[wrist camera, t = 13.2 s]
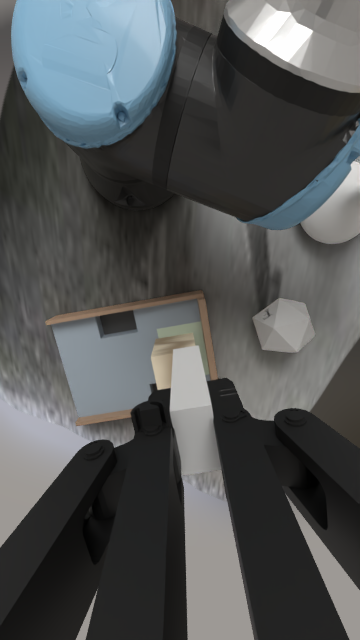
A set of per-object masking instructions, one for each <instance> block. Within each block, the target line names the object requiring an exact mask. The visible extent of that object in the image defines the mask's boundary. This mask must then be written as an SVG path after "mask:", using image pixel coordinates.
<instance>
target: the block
mask: <svg viewBox="0 0 360 640" xmlns="http://www.w3.org/2000/svg"><path fill="white" fill-rule="evenodd" d="M191 346H196V345H195V340H194V334H193V333H188V334H182V335H176V336H170V337H164V338H158V339H155V343H154V347H153V351H152V354H151V361H152V366H153V370H154V375H155V380H156V384H157V389H158V390H161V389H167V388H171V379H172V361H173V349H179V348H185V347H191Z"/></svg>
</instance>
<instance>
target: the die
mask: <svg viewBox="0 0 360 640" xmlns="http://www.w3.org/2000/svg"><path fill="white" fill-rule="evenodd" d="M253 322H254V325H255V328H256V331H257V335H258V338H259V341H260V344H261V348H262V350H269V351H278V352H286V353H298V352H299V351H300V350H301V349H302V348H303V347H304V346H305V345H306V344H307V343H308V342H309V341H310V340H311V339H312V338H313V337H314V336H316V335H315V332H314V329H313V326H312V323H311V320H310V317H309V314H308V311H307V308H306V305H305V303H302V302H297V301H293V300H288V299H284V298H278V299H277V300H276V301H274V302H273V303H272V304H270V305H269V306H267V307H266V308H265V309H263V310H262V311H261V312H259V313H258V314H257V315H255V316H254V317H253Z"/></svg>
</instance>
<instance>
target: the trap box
mask: <svg viewBox="0 0 360 640" xmlns="http://www.w3.org/2000/svg"><path fill="white" fill-rule="evenodd" d="M45 322H46V325H50V324H51V325H52V329H53V332H54V335H55V339H56V342H57V346H58V349H59V352H60V356H61V359H62V363H63V366H64V369H65V373H66V376H67V380H68V383H69V386H70V390H71V393H72V397H73V400H74V403H75V407H76V410H77V414H78V417H79V418H78V420H77V421H76V426H80V425H86V424H92V423H99V422H105V421H111V420H117V419H123V418H129V417H131V414H130V412H131V411H132V409H133V408H134V407H135V406H137V405H138V404H140V403H142V402H145V401H148V398H149V396H150V395H151V394H152V392H153V391H155V390H158V389H157V384H156V380H155V375H154V370H153V366H152V361H151V354H152V351H153V347H154V343H155V339H158V338H164V337H170V336H176V335H182V334H188V333H193V334H194V340H195V345H199V349H200V354H201V359H202V363H203V368H204V372H205V377H206V381H210V380H216V379H218V377H217V370H216V364H215V358H214V352H213V345H212V339H211V333H210V326H209V320H208V314H207V307H206V301H205V298H204V293H203V292H202V290H198V291H192V292H186V293H181V294H175V295H170V296H164V297H158V298H153V299H147V300H141V301H136V302H130V303H125V304H119V305H113V306H108V307H102V308H96V309H91V310H85V311H80V312H74V313H68V314H63V315H57V316H55V317H53V318H51V319H49V320H47V321H45Z"/></svg>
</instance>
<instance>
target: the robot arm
mask: <svg viewBox="0 0 360 640" xmlns="http://www.w3.org/2000/svg"><path fill="white" fill-rule="evenodd" d="M11 35H12V36H11V39H12V40H11V41H12V53H13V60H14V65H15V69H16V73H17V76H18V79H19V81H20V84H21V86H22V88H23V90H24V92H25V94H26V96H27V98H28V100H29V101H30V103H31V105H32V106H33V107H34V109H35V110H36V111H37V113H38V114H39V115H40V117H41V119H42V120H43V122H44V124H45V125H46V126H47V127H48V128H49V130H50V131H52V132H53V133H54V135H55V136H57V137H58V138H60V139H62V140H63V141H64V142H65V143H66V144H67V145H68V146H69V147H70V148H71V149H72V150H73V151H74V152H75V153H76V154H78V155H79V156H80V161H81V164H82V167H83V170H84V172H85V174H86V176H87V178H88V180H89V181H90V183H91V184H92V186H93V187H94V188H95V189H96V190H97V191H98V192H99V193H100V194H101V195H102V196H103V197H104V198H106V199H107V200H108V201H110V202H111V203H113V204H115V205H117V206H119V207H122V208H125V209H129V210H147V209H151V208H154V207H156V206H159V205H161V204H162V203H164V202H165V201H167V200H168V199H169V198H170V197H171V196H172V195H173V194H174V193H175V194H178V195H180V196H183V197H185V198H188V199H190V200H193V201H196V202H198V203H201V204H203V205H206V206H208V207H211V208H214V209H216V210H219V211H221V212H224V213H226V214H229V215H232V216H234V217H236V218H237V219H238V220H239V221H240V222H243V223H248V224H255V225H258V226H261V227H264V228H267V229H271V230H283V229H288V228H291V227H293V226H295V225H297V224H299V223H301V222H302V221H304V220H305V219H307V218H308V217H310V216H311V215H312V214H313V213H314V212H315V211H317V210H318V209H319V208H320V207H321V206H322V205H323V204H324V203H325V202H326V201H327V200H328V199H329V198H330V197H331V196H332V195H333V193H334V192H335V191H336V190H337V189H338V188H339V186H340V185H341V184H342V182H343V181H344V180H345V178H346V177H347V176H348V174H349V173H350V171H351V170H352V169H351V163H352V162H353V161H354V160H355V159H356V158H358V157H359V156H360V0H229V1H228V2H227V4H226V7H225V10H224V15H223V18H222V22H221V26H220V30H219V33H218V36H217V35H213V34H212V33H209V32H207V31H205V30H203V29H201V28H198V27H196V26H194V25H192V24H190V23H188V22H185V21H183V20H181V19H179V18H177V17H175V15H174V9H173V6H172V3H171V0H17V1H16V5H15V9H14V14H13V20H12V33H11ZM130 414H131V418H132V422H133V426H134V430H135V436H134V439H133V440H131V441H130V442H128V443H125V444H123V445H120V446H118V447H115V448H114V446H113V443H112V442H111V441H109V440H104V439H103V440H96V441H94V442H91V443H89V444H87V445H85V446H84V447H82V448H81V449H80V450H79V451H78V452H77V453H76V454H75V456H74V457H73V458H72V459H71V461H70V462H69V463H68V464H67V466H66V467H65V468H64V469H63V471H62V472H61V473H60V474H59V476H58V477H57V478H56V479H55V480H54V482H53V483H52V485H50V487H49V488H48V489H47V490H46V492H45V493H44V494H43V495H42V497H41V498H40V499H39V501H38V502H37V503H36V504H35V505H34V507H33V508H32V509H31V510H30V511H29V513H28V514H27V515H26V516H25V518H24V519H23V520H22V521H21V523H20V524H19V525H18V526H17V528H16V529H15V530H14V531H13V533H12V534H11V535H10V536H9V538H8V539H7V540H6V541H5V543H4V544H3V545H2V546H1V548H0V640H76V637H77V635H78V633H79V631H80V628H81V626H82V624H83V621H84V619H85V617H86V614H87V612H88V610H89V607H90V605H91V603H92V600H93V598H94V596H95V593H96V591H97V595H96V599H95V603H94V607H93V612H92V616H91V620H90V624H89V628H88V633H87V637H86V640H187V639H188V638H187V599H186V560H185V521H184V520H185V519H184V487H183V481H182V477H181V469H182V474H183V476H185V475H192V474H198V473H205V472H211V471H218V470H222V475H223V480H224V486H225V492H226V498H227V501H228V506H229V511H230V517H231V522H232V526H233V532H234V537H235V542H236V547H237V553H238V557H239V563H240V568H241V573H242V578H243V584H244V588H245V593H246V599H247V604H248V609H249V614H250V619H251V624H252V630H253V635H254V640H349V638H348V636H347V633H346V631H345V629H344V626H343V624H342V622H341V620H340V617H339V615H338V613H337V611H336V608H335V606H334V604H333V601H332V599H331V597H330V595H329V593H328V590H327V588H326V586H325V583H324V581H323V579H322V577H321V574H320V572H319V570H318V567H317V565H316V563H315V561H314V559H313V556H312V554H311V551H310V549H309V547H308V545H307V542H306V540H305V538H304V536H303V533H302V531H301V529H300V526H299V524H298V522H297V520H296V517H295V515H294V513H293V511H292V508H291V506H290V504H289V501H288V499H287V497H286V495H287V496H288V497H289V499H290V500H291V501H292V503H293V504H294V505H295V506H296V508H297V509H298V510H299V512H300V513H301V514H302V515H303V517H304V518H305V520H306V521H307V522H308V523H309V525H310V526H311V527H312V529H313V530H314V531H315V533H316V534H317V535H318V536H319V538H320V539H321V540H322V542H323V543H324V544H325V546H326V547H327V548H328V549H329V551H330V552H331V553H332V555H333V556H334V557H335V559H336V560H337V561H338V563H339V564H340V565H341V566H342V568H343V569H344V570H345V572H346V573H347V574H348V576H349V577H350V578H351V579H352V581H353V582H354V583H355V585H356V586H357V587H358V589H359V590H360V448H358V447H357V446H355V445H354V444H352V443H351V442H350V441H349V440H347V439H346V438H344V437H343V436H342V435H340V434H339V433H338V432H336V431H335V430H334V429H332V428H331V427H330V426H328V425H327V424H325V423H324V422H323V421H321V420H320V419H319V418H317V417H316V416H315V415H313V414H312V413H310V412H308V411H306V410H302V409H296V408H290V409H284V410H282V411H280V412H278V413H277V414H276V415H275V416H274V421H265V420H258V419H255V418H253V417H251V415H250V413H249V412H248V411H247V410H245V409H244V408H243V405H242V403H241V400H240V398H239V396H238V393H237V391H236V389H235V386H234V384H233V382H232V381H230V380H229V379H227V378H223V379H216V380H210V381H206V377H205V372H204V368H203V363H202V359H201V354H200V349H199V345H196V346H191V347H185V348H179V349H173V361H172V379H171V388H167V389H161V390H155V391H153V392H152V394H151V395H150V396H149V398H148V401H145V402H142V403H140V404H138V405H137V406H135V407H134V408H133V409H132V411H131V412H130ZM285 493H286V495H285ZM97 589H98V590H97Z"/></svg>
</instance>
